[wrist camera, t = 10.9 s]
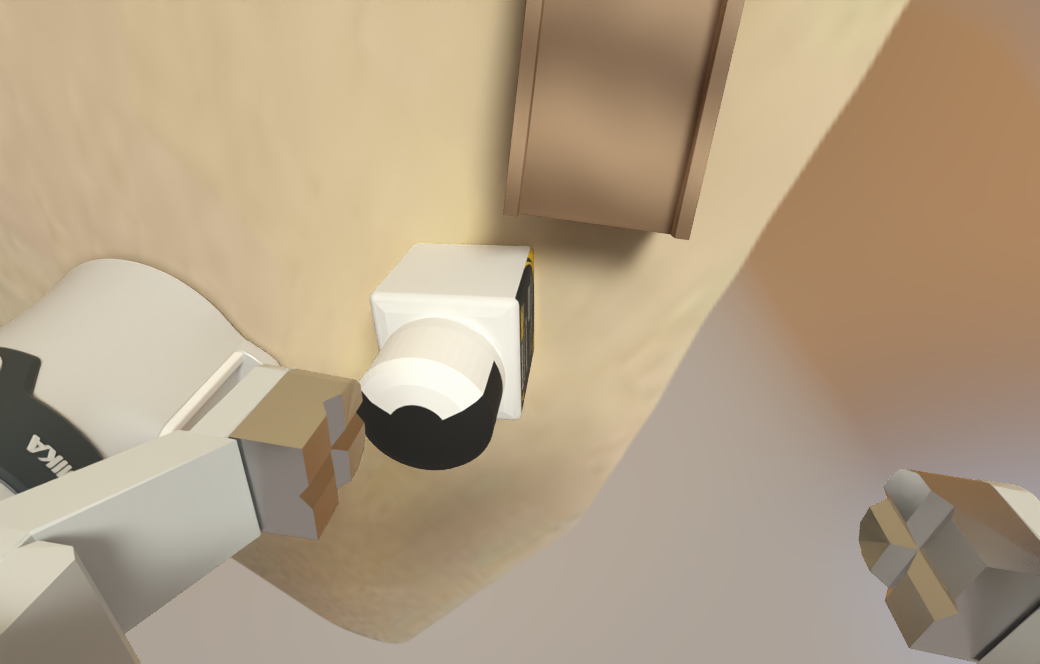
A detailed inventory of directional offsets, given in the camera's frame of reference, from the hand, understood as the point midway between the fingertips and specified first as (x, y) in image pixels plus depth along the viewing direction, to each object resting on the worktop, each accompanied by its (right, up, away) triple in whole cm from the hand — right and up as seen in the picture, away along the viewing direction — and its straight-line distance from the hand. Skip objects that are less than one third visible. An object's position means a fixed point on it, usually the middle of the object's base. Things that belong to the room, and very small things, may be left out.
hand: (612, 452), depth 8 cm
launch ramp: (+3, +14, +16) cm, 21 cm away
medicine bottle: (-4, +4, +23) cm, 24 cm away
